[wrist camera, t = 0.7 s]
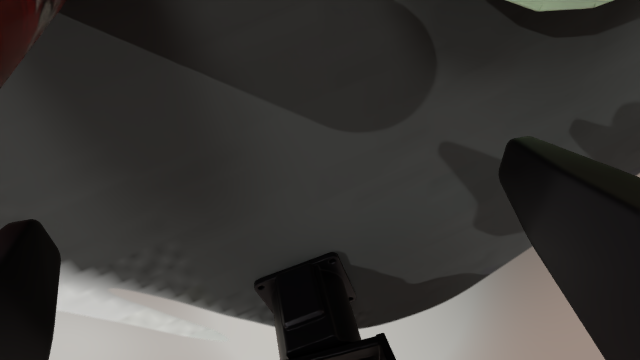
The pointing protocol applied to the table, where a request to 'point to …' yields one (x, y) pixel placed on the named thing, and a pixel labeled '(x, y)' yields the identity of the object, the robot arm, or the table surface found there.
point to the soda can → (22, 29)
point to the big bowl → (558, 4)
